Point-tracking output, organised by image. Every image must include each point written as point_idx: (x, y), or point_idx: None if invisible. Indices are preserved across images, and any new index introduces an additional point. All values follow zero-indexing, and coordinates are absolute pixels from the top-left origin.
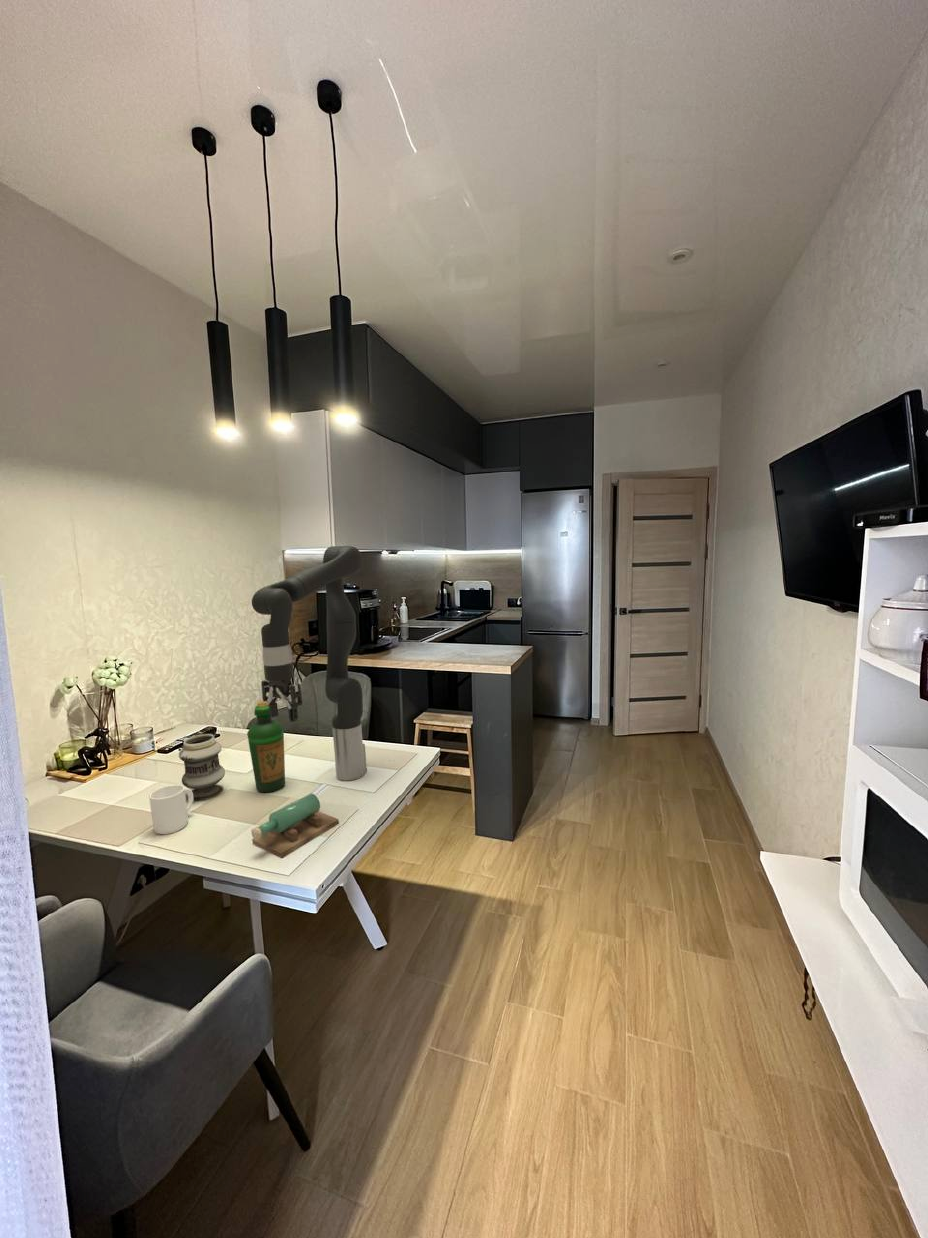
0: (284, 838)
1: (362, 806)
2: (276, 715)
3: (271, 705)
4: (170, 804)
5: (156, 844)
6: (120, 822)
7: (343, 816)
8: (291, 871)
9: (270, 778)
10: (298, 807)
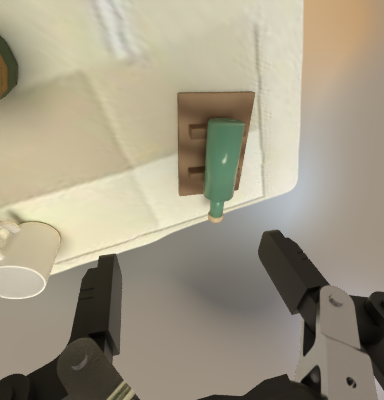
0: None
1: (257, 9)
2: (116, 261)
3: (119, 346)
4: (49, 272)
5: (77, 254)
6: None
7: (244, 67)
8: (262, 191)
9: (3, 87)
10: (236, 166)
